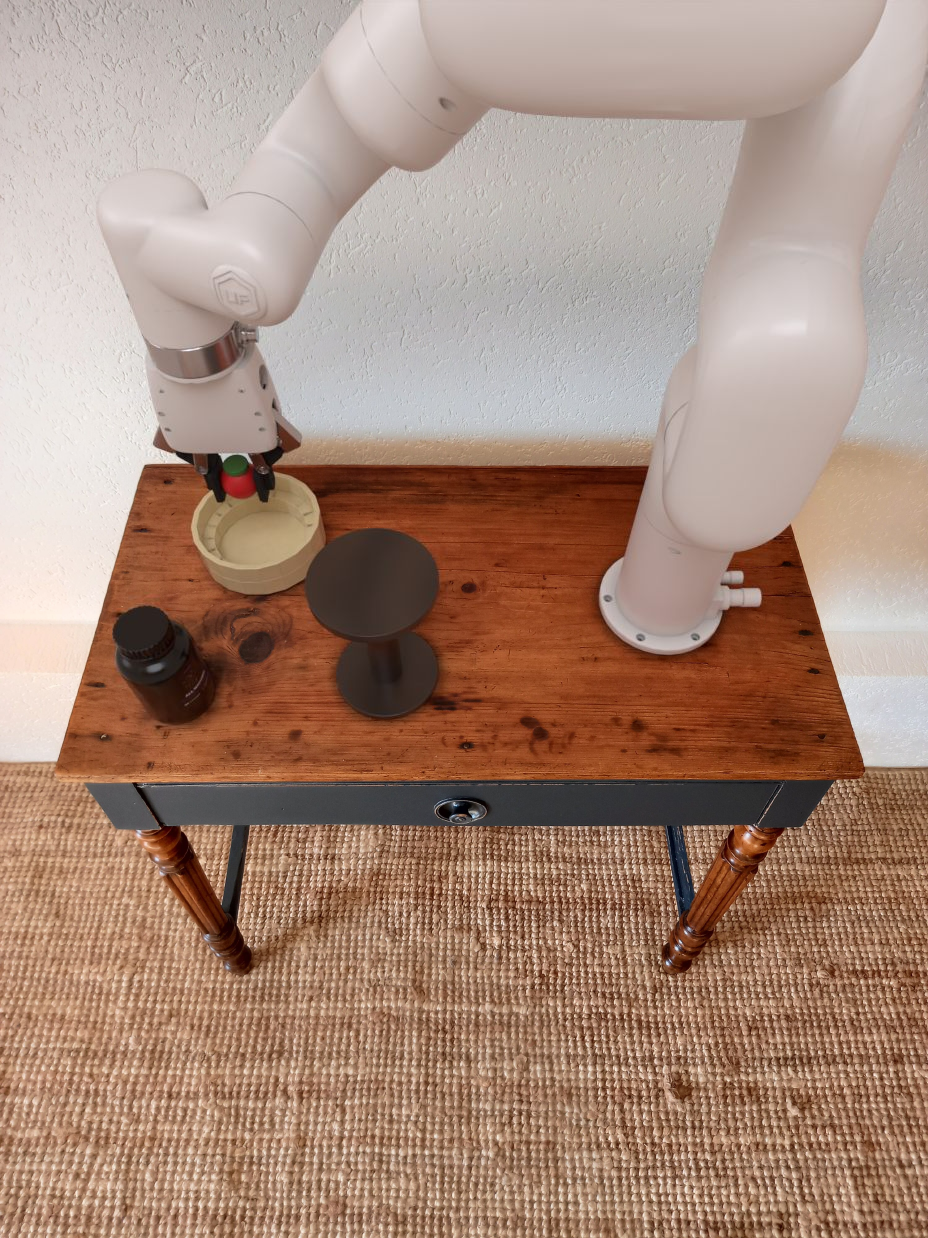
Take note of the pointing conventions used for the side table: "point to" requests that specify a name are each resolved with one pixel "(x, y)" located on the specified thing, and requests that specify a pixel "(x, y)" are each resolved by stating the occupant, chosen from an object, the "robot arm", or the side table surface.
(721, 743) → the side table surface
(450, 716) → the side table surface
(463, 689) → the side table surface
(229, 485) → the tomato
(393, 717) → the cake stand
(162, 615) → the supplement bottle
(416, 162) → the robot arm
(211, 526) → the bowl
